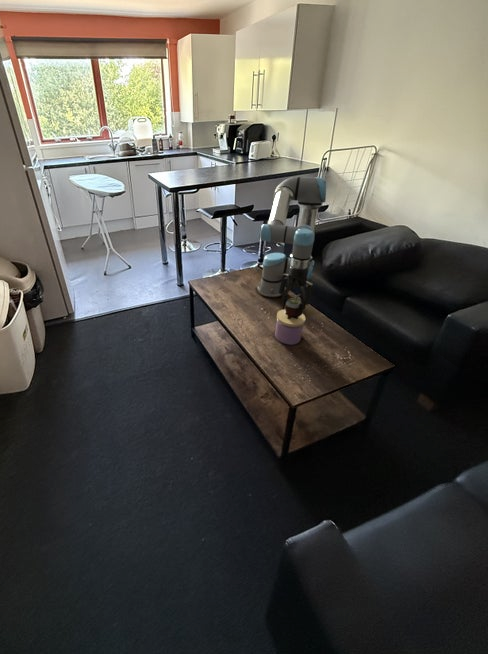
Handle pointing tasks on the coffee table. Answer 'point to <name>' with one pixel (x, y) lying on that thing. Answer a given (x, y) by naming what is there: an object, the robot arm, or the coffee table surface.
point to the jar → (289, 328)
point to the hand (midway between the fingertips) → (291, 311)
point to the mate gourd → (292, 307)
